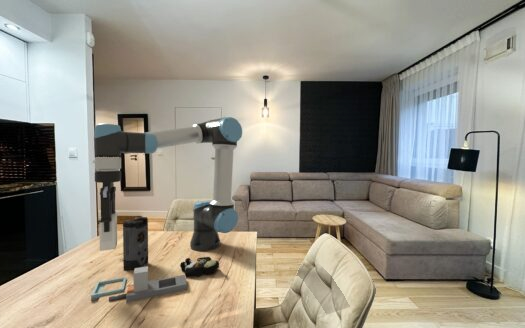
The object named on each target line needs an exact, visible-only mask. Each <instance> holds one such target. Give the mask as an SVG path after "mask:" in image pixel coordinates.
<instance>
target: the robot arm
mask: <svg viewBox="0 0 525 328" xmlns="http://www.w3.org/2000/svg"><path fill="white" fill-rule="evenodd" d="M242 137H243V127H242V125H241V123H240V122H239V121H238V120H237V119H236V118H234V117H230V116H228V117H227V116H224V117H221V118H216V119H210V120H208V121H204V122H201V123H195V124H193V125H192V126H187V127H186V126H185V127H179V128H172V129H171V128H170V129H164V130H163V129H162V130H154V131H147V132H136V131H134V132H132V131H123V130H122V129H121V126H120V125H119V124H114V123H98V124H95V126H94V134H93V142H94V147H93V148H94V149H93V150H94V160H92V163H93V164H94V169H95V170H96V171H94V182H95V183H97V184H98V183H99V184H100V183H101V184H102V187H101V188H100V189H99V195H100V217H101V221H99V223H101V222H102V242H106V241H112V219H111V214H117V212H116V190H117V187H116V186H115V185H114V183H118V182H120V181H122V171H121V169H122V153H123V154H124V155H127V154H146V155H147V154H154V153H155V152H156V151H157V150H158V149H162V148H168V147H173V146H180V145H185V144H186V145H187V144H191V143H192V144H193V143H196V144H205V143H206V144H208V143H211V144H212V147H213V148H214V149H215V151H214V169H213V171H214V173H213V188H212V189H213V190H212V191H213V193H212V200H203V201H197V202H194V204H193V233H192V236H191V239H190V242H189V243H190V245H189V246H190V249H192V250H194V251H198V252H204V251H206V252H207V251H212V250H216V249H218V248H219V247H220V246H221V239H220V236H219V233H221V234H228V233H231V232H233V230H234V229H235V228H236V226H237V225H238V222H239V213H238V212H237V211H236V210H235V202H234V200H233V201H232V191H233V189H232V187H233V185H232V184H233V167H234V164H233V163H234V150H235V149H237V148H238V141H240V140H241V138H242Z"/></svg>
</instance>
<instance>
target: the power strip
mask: <svg viewBox="0 0 525 328" xmlns="http://www.w3.org/2000/svg"><path fill="white" fill-rule="evenodd" d="M186 278H187V277H186V276H185V274H181V275H175V276H171V277H166V278H160V279H154V280H150V281H149V266H148V265H145V266H144V267H140V268H135V269H134V270H133V284H129V285H128V286H127V290H126V291H127V292H126V293H122V294H117V295H112V296H111V295H110V296H108V302H111V301H116V300H121V299H125V303H126V304H128V303H132V302H133V303H134V302H137V301H141V300H142V301H143V300H146V299H150V298H155V297H156V298H157V297H160V296H166V295H169V294H175V293H179V292H184V291H187V290H188V283H187V279H186Z"/></svg>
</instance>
